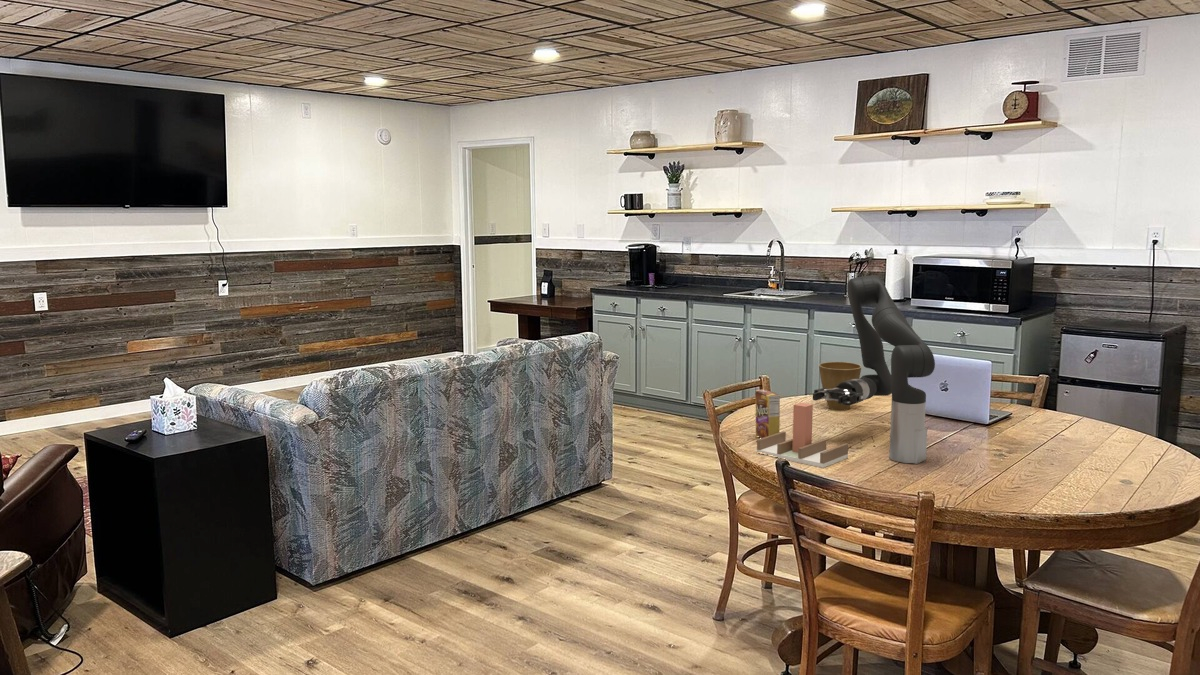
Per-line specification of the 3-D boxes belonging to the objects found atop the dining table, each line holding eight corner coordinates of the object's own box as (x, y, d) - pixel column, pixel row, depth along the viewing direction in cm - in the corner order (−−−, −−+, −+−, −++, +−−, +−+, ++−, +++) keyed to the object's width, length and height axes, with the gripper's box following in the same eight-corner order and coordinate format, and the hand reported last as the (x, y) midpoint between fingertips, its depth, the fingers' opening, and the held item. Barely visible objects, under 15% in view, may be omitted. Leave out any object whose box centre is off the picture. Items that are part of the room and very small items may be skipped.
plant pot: (812, 404, 327) (813, 362, 325) (851, 403, 328) (853, 361, 326) (825, 413, 312) (826, 369, 310) (866, 412, 313) (867, 368, 311)
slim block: (811, 451, 257) (812, 404, 256) (804, 453, 255) (805, 406, 253) (799, 448, 260) (800, 402, 258) (792, 451, 257) (793, 404, 255)
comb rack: (847, 457, 255) (848, 443, 254) (823, 467, 245) (823, 453, 244) (782, 444, 270) (782, 431, 269) (756, 453, 260) (757, 439, 260)
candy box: (754, 436, 280) (754, 389, 278) (766, 435, 281) (767, 388, 279) (767, 443, 271) (768, 395, 269) (779, 442, 273) (780, 394, 271)
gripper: (832, 377, 281) (805, 383, 269) (874, 382, 271) (848, 389, 259) (831, 400, 281) (805, 408, 270) (873, 406, 272) (848, 414, 260)
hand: (826, 398), depth 264 cm, fingers open, 8 cm apart
